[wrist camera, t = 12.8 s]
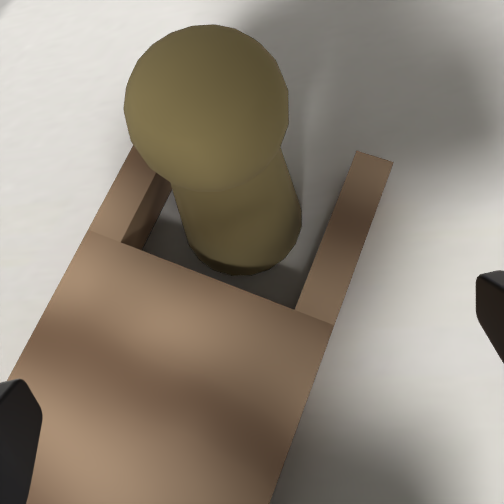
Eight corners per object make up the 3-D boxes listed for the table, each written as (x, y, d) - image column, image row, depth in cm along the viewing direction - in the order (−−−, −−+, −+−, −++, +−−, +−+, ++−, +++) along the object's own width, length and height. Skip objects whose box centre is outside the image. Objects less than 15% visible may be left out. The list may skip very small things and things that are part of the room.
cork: (240, 301, 22) (186, 213, 12) (160, 220, 24) (52, 81, 13) (327, 217, 23) (349, 65, 13) (244, 144, 25) (203, -41, 14)
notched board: (232, 602, 18) (223, 630, 16) (-9, 471, 21) (-47, 480, 19) (384, 185, 23) (393, 162, 21) (174, 119, 26) (162, 91, 23)
